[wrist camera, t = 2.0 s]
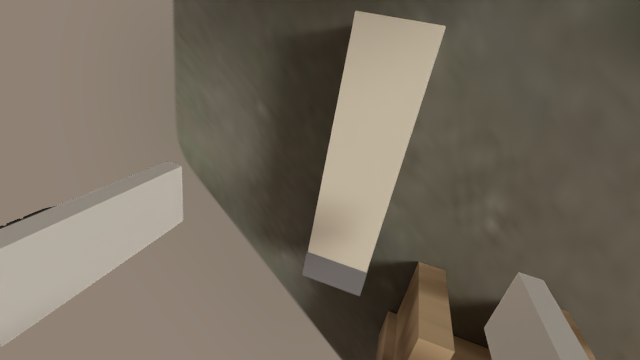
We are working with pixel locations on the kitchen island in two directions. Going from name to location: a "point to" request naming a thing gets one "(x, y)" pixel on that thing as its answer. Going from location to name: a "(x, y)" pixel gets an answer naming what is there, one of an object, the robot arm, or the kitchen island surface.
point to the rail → (368, 142)
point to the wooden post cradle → (433, 324)
